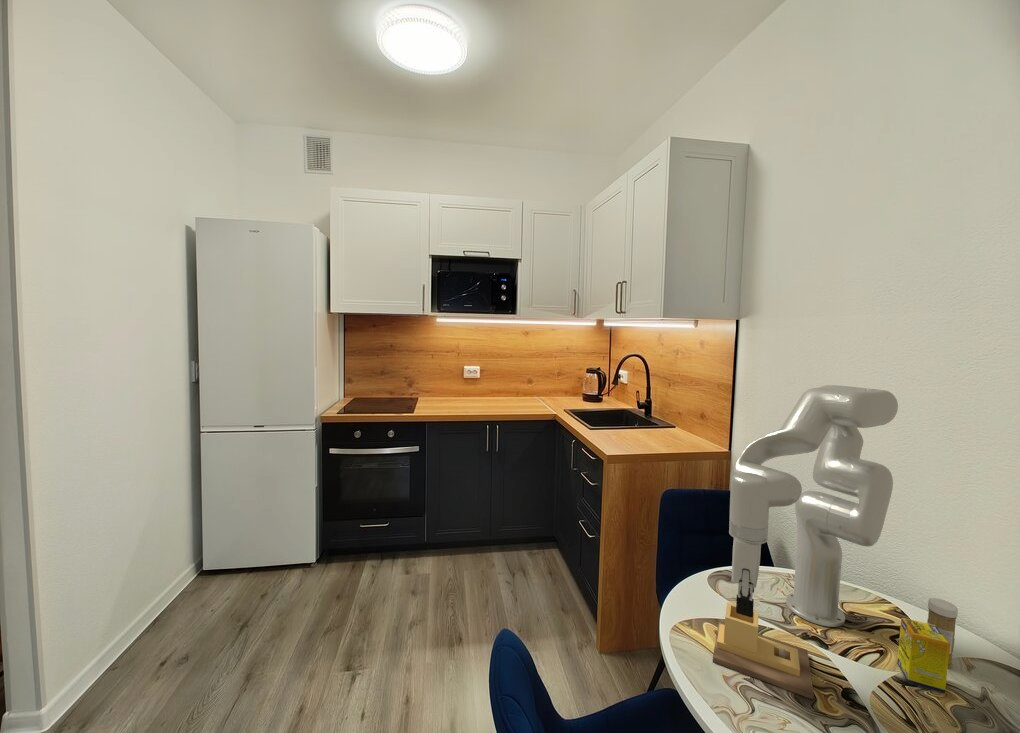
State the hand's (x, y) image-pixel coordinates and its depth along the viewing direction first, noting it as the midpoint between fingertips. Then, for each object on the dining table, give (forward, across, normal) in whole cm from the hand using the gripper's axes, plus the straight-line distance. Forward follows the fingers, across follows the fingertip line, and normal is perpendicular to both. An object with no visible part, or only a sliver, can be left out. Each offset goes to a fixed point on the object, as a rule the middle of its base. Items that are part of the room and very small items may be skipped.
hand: (745, 602), depth 96 cm
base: (+11, +1, +3) cm, 12 cm away
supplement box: (+13, -11, +32) cm, 36 cm away
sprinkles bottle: (+13, -20, +37) cm, 44 cm away
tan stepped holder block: (+10, +1, +3) cm, 11 cm away
